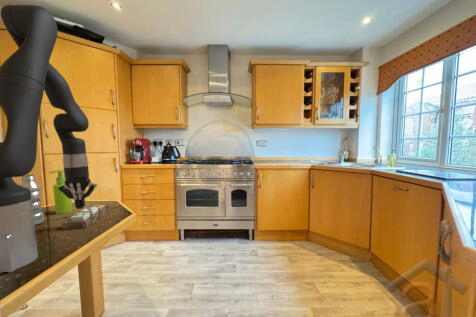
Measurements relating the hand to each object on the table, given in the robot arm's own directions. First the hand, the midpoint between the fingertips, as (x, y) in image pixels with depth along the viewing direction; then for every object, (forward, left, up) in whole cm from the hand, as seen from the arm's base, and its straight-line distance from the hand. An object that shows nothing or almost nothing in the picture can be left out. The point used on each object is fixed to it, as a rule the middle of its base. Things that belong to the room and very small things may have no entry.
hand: (80, 208), depth 81 cm
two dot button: (0, 0, -7) cm, 7 cm away
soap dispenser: (+17, +17, -7) cm, 25 cm away
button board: (+6, 0, -7) cm, 9 cm away
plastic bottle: (+3, +19, -7) cm, 20 cm away
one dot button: (+13, 0, -8) cm, 15 cm away
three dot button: (+6, 0, -7) cm, 9 cm away
